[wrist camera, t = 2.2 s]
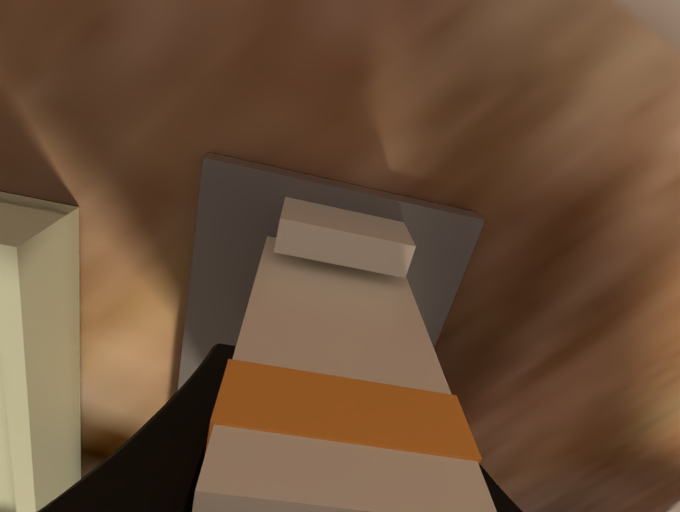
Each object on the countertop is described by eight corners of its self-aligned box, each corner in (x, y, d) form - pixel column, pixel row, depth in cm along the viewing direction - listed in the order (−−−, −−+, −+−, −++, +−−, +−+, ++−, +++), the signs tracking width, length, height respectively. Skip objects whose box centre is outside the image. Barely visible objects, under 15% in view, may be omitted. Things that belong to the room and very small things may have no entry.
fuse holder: (477, 212, 12) (508, 243, 10) (382, 456, 15) (391, 514, 13) (208, 152, 11) (184, 174, 9) (177, 428, 14) (155, 486, 12)
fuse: (403, 261, 11) (509, 524, 5) (346, 431, 14) (370, 752, 7) (265, 233, 11) (191, 486, 5) (232, 414, 13) (153, 743, 7)
